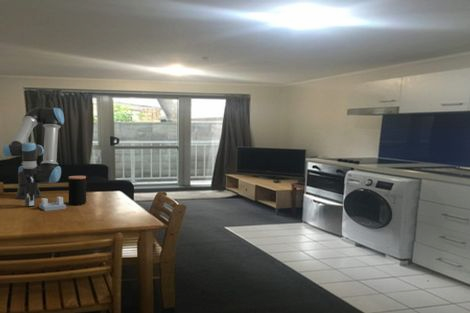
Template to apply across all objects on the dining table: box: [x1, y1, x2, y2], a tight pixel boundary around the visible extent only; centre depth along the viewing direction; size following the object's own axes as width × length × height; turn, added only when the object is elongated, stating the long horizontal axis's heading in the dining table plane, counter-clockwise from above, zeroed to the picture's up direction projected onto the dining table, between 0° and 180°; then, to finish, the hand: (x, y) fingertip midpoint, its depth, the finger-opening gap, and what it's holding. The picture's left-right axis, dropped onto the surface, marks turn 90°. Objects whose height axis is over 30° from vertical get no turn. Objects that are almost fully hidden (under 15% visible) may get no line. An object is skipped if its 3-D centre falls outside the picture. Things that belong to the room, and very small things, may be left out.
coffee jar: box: [68, 175, 87, 206], centre depth 242 cm, size 11×11×18 cm
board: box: [38, 196, 67, 212], centre depth 230 cm, size 14×12×6 cm
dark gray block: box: [24, 197, 37, 207], centre depth 232 cm, size 4×5×5 cm
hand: (30, 204), depth 232 cm, fingers closed on dark gray block, 4 cm apart
